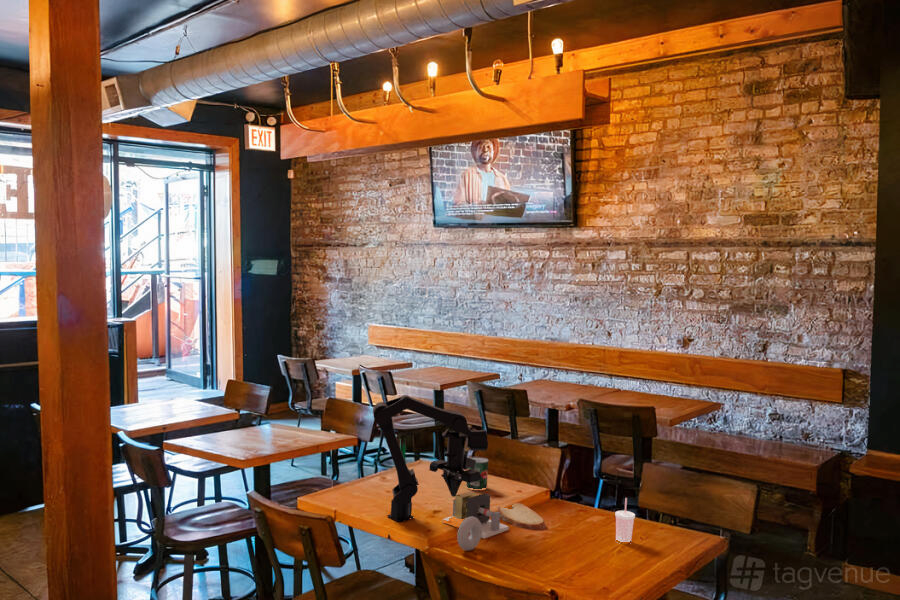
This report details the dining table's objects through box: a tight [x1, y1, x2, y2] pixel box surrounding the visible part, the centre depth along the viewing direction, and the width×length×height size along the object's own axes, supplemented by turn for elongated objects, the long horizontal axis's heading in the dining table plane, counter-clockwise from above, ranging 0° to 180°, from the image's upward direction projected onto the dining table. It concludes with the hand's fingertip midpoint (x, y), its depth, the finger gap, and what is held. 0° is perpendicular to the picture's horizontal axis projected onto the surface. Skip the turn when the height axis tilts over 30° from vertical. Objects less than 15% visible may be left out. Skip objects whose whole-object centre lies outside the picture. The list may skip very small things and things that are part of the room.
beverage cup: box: [614, 497, 636, 542], centre depth 239 cm, size 6×6×14 cm
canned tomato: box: [466, 456, 489, 489], centre depth 288 cm, size 8×8×11 cm
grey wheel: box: [456, 516, 482, 552], centre depth 226 cm, size 10×4×10 cm, turn 141°
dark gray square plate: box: [467, 492, 491, 523], centre depth 246 cm, size 8×2×8 cm, turn 137°
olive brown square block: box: [454, 490, 478, 519], centre depth 249 cm, size 7×3×7 cm, turn 137°
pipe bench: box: [442, 498, 510, 539], centre depth 246 cm, size 12×18×7 cm, turn 47°
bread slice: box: [497, 502, 547, 531], centre depth 256 cm, size 18×18×4 cm
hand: (453, 496), depth 253 cm, fingers closed
